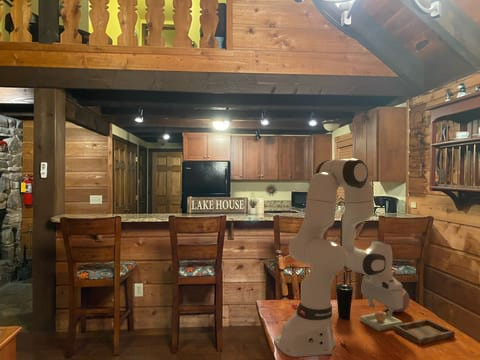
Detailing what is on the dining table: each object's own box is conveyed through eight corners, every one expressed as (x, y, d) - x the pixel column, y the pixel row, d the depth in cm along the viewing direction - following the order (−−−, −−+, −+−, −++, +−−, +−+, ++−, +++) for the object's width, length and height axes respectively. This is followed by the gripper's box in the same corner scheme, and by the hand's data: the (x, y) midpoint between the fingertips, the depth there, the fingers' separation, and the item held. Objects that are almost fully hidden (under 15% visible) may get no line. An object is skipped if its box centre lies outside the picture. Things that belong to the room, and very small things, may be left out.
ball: (388, 322, 133) (387, 311, 134) (380, 324, 132) (379, 313, 133) (381, 319, 138) (379, 309, 138) (373, 321, 136) (371, 310, 137)
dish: (419, 345, 117) (419, 339, 117) (394, 330, 128) (394, 325, 128) (454, 337, 123) (454, 331, 123) (426, 324, 134) (427, 319, 134)
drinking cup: (354, 322, 136) (354, 275, 136) (336, 320, 138) (336, 274, 138) (352, 314, 143) (352, 270, 144) (334, 313, 145) (334, 269, 145)
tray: (377, 331, 128) (377, 326, 128) (360, 320, 137) (360, 316, 137) (402, 326, 132) (402, 321, 132) (383, 316, 142) (383, 312, 142)
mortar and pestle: (377, 305, 154) (377, 282, 154) (402, 306, 153) (402, 282, 154) (387, 316, 142) (387, 290, 142) (414, 317, 141) (414, 291, 142)
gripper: (357, 273, 143) (357, 304, 143) (393, 287, 124) (393, 323, 124) (369, 272, 146) (368, 302, 145) (406, 286, 126) (405, 321, 126)
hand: (380, 312), depth 135 cm, fingers open, 8 cm apart
